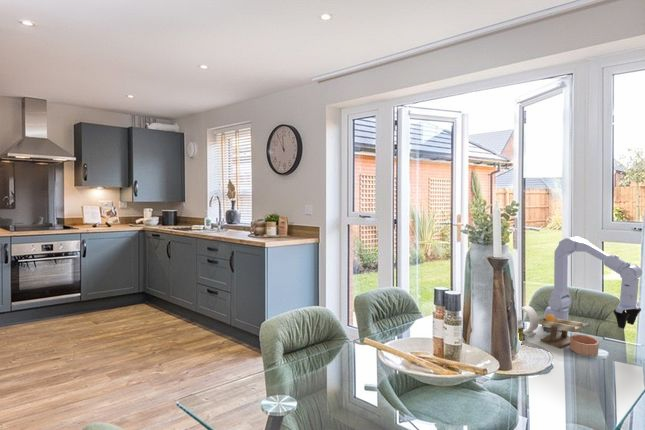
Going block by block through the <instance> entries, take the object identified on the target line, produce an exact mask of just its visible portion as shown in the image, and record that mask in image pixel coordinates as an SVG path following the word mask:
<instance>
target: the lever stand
mask: <svg viewBox="0 0 645 430" xmlns="http://www.w3.org/2000/svg"><path fill="white" fill-rule="evenodd" d="M560 332H561V331H560ZM560 332H558V330H557V327H554V326H551V332H550V333H549V335H546V336H544V337H542V338H540V342H542V343H544V344H547V345H549V346H552V347H556V348H557V349H563V348H565V347H567V346H570V336H569V335H568V332H569V331H564V330H562V332H561V333H560Z"/></svg>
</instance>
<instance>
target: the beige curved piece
mask: <svg viewBox="0 0 645 430" xmlns="http://www.w3.org/2000/svg"><path fill="white" fill-rule="evenodd" d="M538 319H539V318H538ZM538 325H541V327H543V328H542V329H543V331H542V332H544V333H545V332H546V333H549V334H550V332H551V326H554V327H557V329H559V330H564V331H568V332H570V333H576V332H578V331H581V330H583V329H584V330H585V329H587V328H589V327H590V326H591V323H588V322H587V323H585V322H581V321H574V320H569V319H568V320H563V319H557V318H555V321H554V322H549V321H546V320H545V317H542V318H540V319H539V324H538Z"/></svg>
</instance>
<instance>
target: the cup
mask: <svg viewBox="0 0 645 430" xmlns="http://www.w3.org/2000/svg"><path fill="white" fill-rule="evenodd" d="M569 337H570V345H569V350H571V351H573V352H574V353H577V354H579V355H584V356H596V355H598V354H599V345H600V343H599V340H598V339H596V338H594V337H592V336H588V335H585V334H573V335H570V336H569Z"/></svg>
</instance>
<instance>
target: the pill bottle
mask: <svg viewBox="0 0 645 430" xmlns="http://www.w3.org/2000/svg"><path fill="white" fill-rule="evenodd" d="M517 317H518V333H519V340H520V341H522V342H523V340H524V339H523V338H524V334H523V330H524V325H523V322H522V321H523V319H522V318H521V317H520V316H517Z"/></svg>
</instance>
